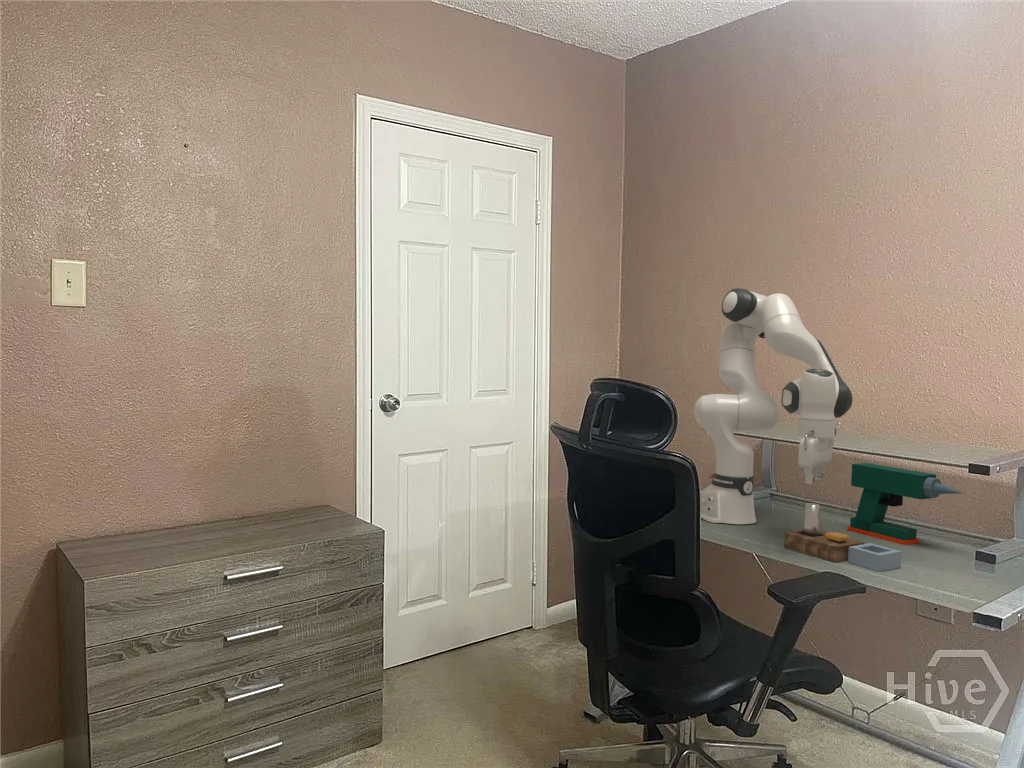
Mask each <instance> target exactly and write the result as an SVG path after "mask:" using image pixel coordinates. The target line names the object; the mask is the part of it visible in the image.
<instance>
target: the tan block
mask: <svg viewBox="0 0 1024 768" xmlns="http://www.w3.org/2000/svg"><path fill="white" fill-rule="evenodd" d="M825 538H828V539H830V541H833V542H836V543H842V542H844V541H848V540H849V538H850V535H848V534H845V533H841V532H836V531H832V532H831V531H830V532H827V533H825Z"/></svg>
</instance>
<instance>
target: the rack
mask: <svg viewBox="0 0 1024 768" xmlns="http://www.w3.org/2000/svg"><path fill="white" fill-rule="evenodd" d="M902 554H903V553H902V550H897V549H893V548H890V547H886V546H883V545H879V544H874V543H864V544H862V545H856V546H850V547H849V552H848V561H847V563H849V564H852V565H854V566H859V567H863V568H865V569H869V570H872V571H876V572H879V573H880V572H883V571H884V572H885V571H889V570H894V569H898V568H902Z"/></svg>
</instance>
